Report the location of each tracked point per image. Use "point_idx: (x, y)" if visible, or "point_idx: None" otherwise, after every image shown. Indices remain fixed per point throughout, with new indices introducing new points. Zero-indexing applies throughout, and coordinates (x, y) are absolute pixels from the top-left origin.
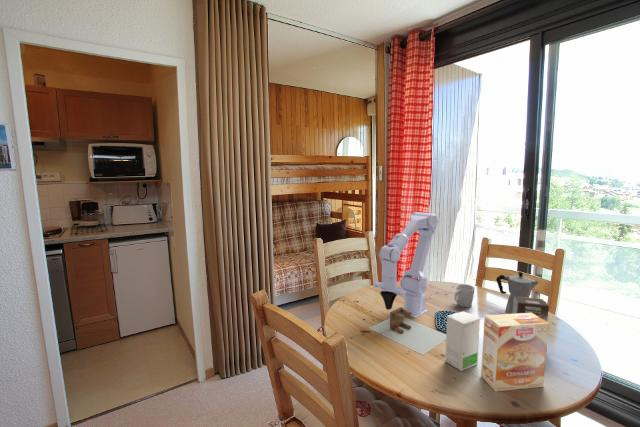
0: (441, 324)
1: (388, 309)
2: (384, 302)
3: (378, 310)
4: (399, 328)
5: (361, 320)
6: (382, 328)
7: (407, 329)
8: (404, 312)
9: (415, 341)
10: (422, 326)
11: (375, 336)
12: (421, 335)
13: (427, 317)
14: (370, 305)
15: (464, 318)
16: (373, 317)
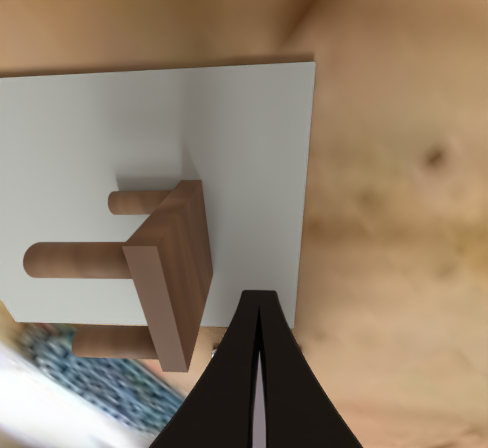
0: (117, 365)
1: (243, 291)
2: (294, 343)
3: (405, 305)
4: (134, 207)
5: (443, 127)
6: (239, 149)
7: None
8: (124, 331)
9: (14, 180)
10: (133, 314)
11: (196, 6)
12: None
13: (188, 375)
14: (481, 318)
15: None
16: (385, 226)
